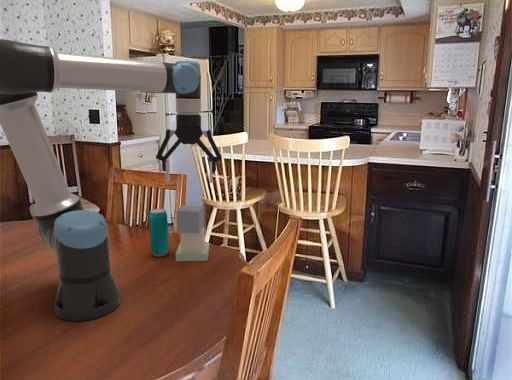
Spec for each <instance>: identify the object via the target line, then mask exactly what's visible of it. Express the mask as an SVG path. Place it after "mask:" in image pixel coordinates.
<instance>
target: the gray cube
mask: <svg viewBox="0 0 512 380" xmlns="http://www.w3.org/2000/svg"><path fill="white" fill-rule="evenodd" d="M204 209H205V207H204V205H184V204H183V205H181V206H180V207H179V208H178V209H177V210H176V229H177V233H179V234H180V233H200V232H201V230H202V229H203V227H204V228H205V210H204Z"/></svg>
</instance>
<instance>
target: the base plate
mask: <svg viewBox="0 0 512 380" xmlns="http://www.w3.org/2000/svg"><path fill="white" fill-rule="evenodd" d="M209 253H210V242H205V245H204V250H203V252H181V242H179V244H178V247H177V250H176V251H175V262H207V261H208V259H209Z"/></svg>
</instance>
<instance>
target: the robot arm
mask: <svg viewBox="0 0 512 380" xmlns="http://www.w3.org/2000/svg"><path fill="white" fill-rule="evenodd" d="M201 73H202V72H201V65H200V63H199V62H198V61H194V60H177V61H175V63H174V62H161V61H155V60H154V61H152V60H142V59H132V58H123V57H122V58H120V57H111V56H110V57H109V56H100V55H99V56H98V55H90V54H89V55H88V54H79V53H68V52H67V53H66V52H59V51H58V52H57V51H55V50H54V49H53V48H52V47H51V46H46V45H38V44H30V43H25V42H21V41H16V40H11V39H5V38H0V126H1V129H2V132H3V133H4V135H5V139H6V140H7V142H8V145H9V146H10V149H11V151H12V153H13V155H14V158H15V160H16V163H17V164H18V165H17V166H18V167H19V169H20V172H21V174H22V175H23V176H22V177H23V178H24V181H25V183H26V184H27V185H26V186H27V187H28V189H29V191H30V194H31V196H32V199H33V200H34V203H35V206H34V208H33V210H32V215H33V217H34V219H35V221H36V223H37V225H38V227H37V228H38V234H39V236H40V238H41V239H42V241H43V242H44V243H45V244H46V245H47V246H49V248H50V249H51V250H52V251H53V252H54V253H55V254H56V256H57V265H58V273H59V274H58V275H59V285H58V289H57V292H56V296H55V300H54V313H55V315H56V317H58V318H59V319H62V320H65V321H69V322H70V321H71V322H82V321H89V320H94V319H97V318H101V317H104V316H107V315H108V314H110V313H111V312H113V311H114V310H116V309H117V308H118V307H119V305H120V302H121V299H120V297H121V296H120V292H119V288H118V287H117V284H116V283H115V280H114V278H113V276H112V274H111V265H110V264H111V263H110V249H109V236H108V233H109V230H108V225H107V221H106V220H107V219H106V218H105V217H104V216H103V214H101V213H99V212H98V211H97V212H96V211H90V210H85V209H84V206H83V204H82V202H81V200H80V197H79V195H77V194H74V193H72V192H71V191H70V188H69V186H68V184H67V181H66V178H65V177H64V173H63V172H62V169H61V166H60V163H59V161H58V159H57V156H56V154H55V152H54V149H53V146H52V144H51V142H50V139H49V136H48V134H47V131H46V129H45V127H44V125H43V122H42V120H41V117H40V113H39V112H38V110H37V106H36V102H37V99H38V98H39V94H38V93H52V92H54V91H56V89H74V90H75V89H76V90H78V89H79V90H101V91H119V92H120V91H123V92H127V91H128V92H140V93H145V94H146V93H147V94H175V112H176V113H177V114H176V116H175V120H176V122H175V123H176V124H175V125H176V126H175V127H176V128H175V130H174V129H171V128H168V129H166V130H165V135H164V136H165V137H164V139H163V141H162V143H161V145H160V147H159V150H158V152H157V154H156V156H155V159H156V160H159V161H161V168H162V169H161V171H162V172H165V183H169V182H170V180H171V178H170V177H171V175H170V173H171V172H170V160H168V159H169V157H171V155H172V154H173V153H174V152H175V151H176V149H177V148H178V147H179V146H180V144H182V145H192V146H193V145H197V146H199V148H200V149H201V150H202V151H203V152H204V153H205V155H207V157H208V158H209V159H210V161H209V183H210V184H212V183H213V180H214V179H213V178H214V177H213V173H215V172H216V171H217V162H218V161H221V160H222V158H223V157H222V154H221V153H220V150H219V149H218V146H217V144H216V142H215V140H214V138H213V136H212V130H211V129H208V130H203V129H202V116H201V112H202V110H201V109H202V100H201V97H202V96H201V95H202V94H201V93H202V88H201V87H202V86H201V81H202V75H201ZM174 135H175V136H176V138H177V140H176V141H175V142H174V143H173V145H172V146H171V147H170V148H169V149H168V151H167V152H166V153H165V154H164V152H165V149H166V148H167V145H168V143H169V141H170V139H171V138H172V137H173V136H174ZM202 136H205V138H207V140H208V142H209V144H210V146H211V148H212V150H213V152H214V154H215V155H214V154H213V153H212V152H211V150H210V149H209V148H208V147H207V146H206V145H205V144H204V142H203V141H202V140H201V137H202ZM163 154H164V155H163Z"/></svg>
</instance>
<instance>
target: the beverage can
mask: <svg viewBox="0 0 512 380" xmlns="http://www.w3.org/2000/svg"><path fill="white" fill-rule="evenodd" d="M148 220H149V225H148V226H149V240H150V241H149V243H150V252H151V253H152V255H153V256H154V257H165V256H166V255H167V254H168V253H169V252H168V251H169V232H168V231H169V230H168V229H169V228H168V214H167V210H166V209H165V208H153V209H151V210H149V214H148Z"/></svg>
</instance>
